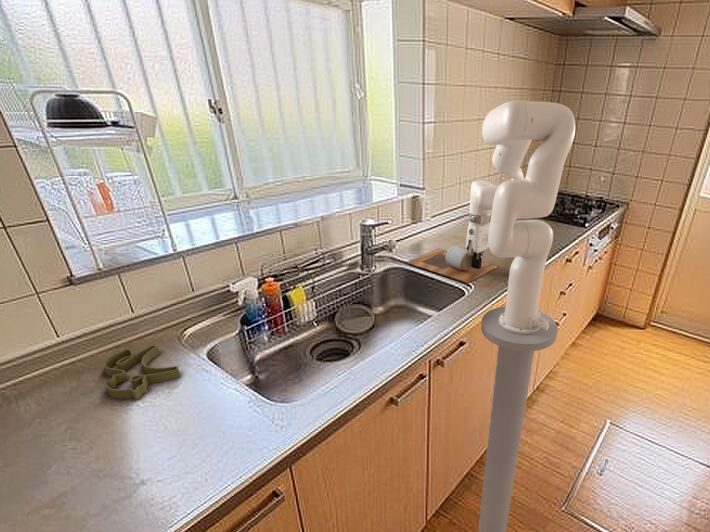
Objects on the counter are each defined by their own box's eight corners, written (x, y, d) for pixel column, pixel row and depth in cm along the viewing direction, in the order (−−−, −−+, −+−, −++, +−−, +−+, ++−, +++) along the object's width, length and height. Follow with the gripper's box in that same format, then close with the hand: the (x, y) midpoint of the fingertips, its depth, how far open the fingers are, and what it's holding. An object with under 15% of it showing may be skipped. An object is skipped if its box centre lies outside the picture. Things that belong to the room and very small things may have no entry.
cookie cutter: (185, 379, 90) (183, 372, 89) (118, 407, 81) (114, 399, 80) (155, 347, 100) (153, 340, 99) (91, 369, 91) (88, 361, 90)
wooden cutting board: (497, 266, 159) (497, 266, 159) (468, 283, 144) (468, 282, 143) (438, 249, 172) (438, 249, 172) (406, 262, 157) (406, 262, 157)
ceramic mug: (461, 273, 150) (462, 253, 146) (444, 267, 154) (445, 247, 151) (479, 266, 157) (481, 247, 154) (462, 260, 162) (464, 241, 158)
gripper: (477, 225, 136) (473, 276, 145) (500, 216, 148) (495, 264, 156) (458, 220, 140) (455, 271, 148) (482, 212, 151) (478, 259, 159)
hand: (476, 267), depth 152 cm, fingers closed
